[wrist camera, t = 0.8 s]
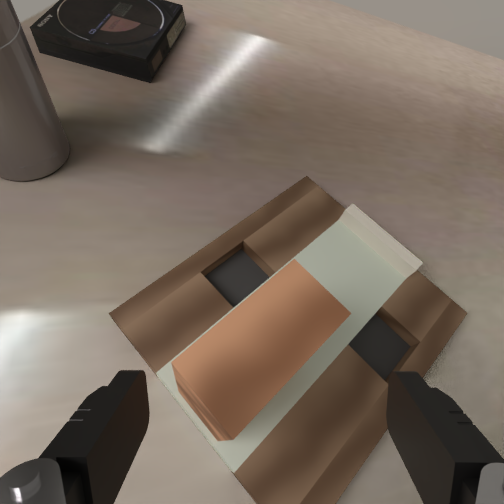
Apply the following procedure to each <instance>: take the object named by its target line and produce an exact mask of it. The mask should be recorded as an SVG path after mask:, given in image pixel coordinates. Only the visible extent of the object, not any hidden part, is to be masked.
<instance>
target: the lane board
mask: <svg viewBox="0 0 504 504" xmlns="http://www.w3.org/2000/svg"><path fill="white" fill-rule="evenodd" d="M293 259H295V260H296V261H297V262H298V263H299V264H300V265H301V266H302V267H304V268H305V269H306V270H307V271H308V272H309V273H310V274H311V275H312V276H313V277H314V278H315V279H316V280H317V281H318V282H319V283H320V284H321V285H322V286H323V287H324V288H325V289H327V290H328V291H329V292H330V293H331V294H332V295H333V296H334V297H335V298H336V299H337V300H338V301H339V302H340V303H341V304H342V305H343V306H344V307H345V308H346V309H347V310H348V311H350V312H351V315H350V316H349V317H348V318H347V319H346V320H345V321H344V322H343V323H342V324H341V325H340V326H339V327H338V328H337V330H336V331H335V332H334V333H333V334H332V335H331V336H330V337H329V338H328V339H327V340H326V341H325V342H324V343H323V345H322V346H321V347H320V348H319V349H318V350H317V351H316V352H315V353H314V354H313V355H312V356H311V357H310V358H309V360H308V361H307V362H306V363H305V364H304V365H303V366H302V367H301V368H300V369H299V370H298V371H297V372H296V373H295V375H294V376H293V377H292V378H291V379H290V380H289V381H288V382H287V383H286V384H285V385H284V386H283V387H282V388H281V390H280V391H279V392H278V393H277V394H276V395H275V396H274V397H273V398H272V399H271V400H270V401H269V402H268V403H267V405H266V406H265V407H264V408H263V409H262V410H261V411H260V412H259V413H258V414H257V415H256V416H255V417H254V418H253V419H252V421H251V422H250V423H249V424H248V425H247V426H246V427H245V428H244V429H243V430H242V431H241V432H240V433H239V434H238V436H237V437H236V438H235V439H234V440H226V441H217V440H216V439H215V437H214V436H213V435H212V433H211V432H210V431H209V430H208V428H207V427H206V426H205V425H204V423H203V422H202V421H201V420H200V418H199V417H198V416H197V414H196V413H195V412H194V411H193V409H192V408H191V407H190V406H189V404H188V403H187V402H186V401H185V399H184V398H183V397H182V396H181V394H180V393H179V391H178V387H177V383H176V380H175V376H174V372H173V368H172V364H171V362H172V361H173V360H174V359H176V358H177V357H178V356H179V355H180V354H182V353H183V352H184V351H185V350H186V349H187V348H189V347H190V346H191V345H192V344H193V343H195V342H196V341H197V340H198V339H199V338H201V337H202V336H203V335H204V334H205V333H207V332H208V331H209V330H210V329H211V328H212V327H214V326H215V325H216V324H217V323H218V322H220V321H221V320H222V319H223V318H224V317H226V316H227V315H228V314H229V313H230V312H231V311H233V310H234V309H235V308H236V307H237V306H239V305H240V304H241V303H242V302H243V301H245V300H246V299H247V298H248V297H249V296H250V295H252V294H253V293H254V292H255V291H256V290H258V289H259V288H260V287H261V286H262V285H264V284H265V283H266V282H267V281H268V280H270V279H271V278H272V277H273V276H274V275H275V274H277V273H278V272H279V271H280V270H281V269H283V268H284V267H285V266H286V265H287V264H289V263H290V262H291V261H292V260H293ZM422 264H423V262H422V261H421V260H419V259H418V258H417V257H416V256H415V255H414V254H412V253H411V252H410V251H409V250H408V249H406V248H405V247H404V246H403V245H402V244H400V243H399V242H398V241H397V240H396V239H395V238H393V237H392V236H391V235H390V234H389V233H387V232H386V231H385V230H384V229H383V228H381V227H380V226H379V225H378V224H377V223H376V222H374V221H373V220H372V219H371V218H370V217H368V216H367V215H366V214H365V213H364V212H362V211H361V210H360V209H359V208H358V207H356V206H355V205H354V204H352V205H350V206H349V207H348V208H347V209H345V208H344V207H343V206H341V205H340V204H339V203H338V202H337V201H336V200H334V199H333V198H332V197H331V196H330V195H329V194H327V193H326V192H325V191H324V190H323V189H322V188H320V187H319V186H318V185H317V184H316V183H315V182H313V181H312V180H311V179H310V178H309V177H307V176H306V177H304V178H303V179H302V180H300V181H299V182H297V183H296V184H294V185H293V186H292V187H290V188H289V189H287V190H286V191H284V192H283V193H281V194H280V195H279V196H277V197H276V198H274V199H273V200H271V201H270V202H269V203H267V204H266V205H264V206H263V207H261V208H260V209H258V210H257V211H256V212H254V213H253V214H251V215H250V216H248V217H247V218H245V219H244V220H243V221H241V222H240V223H238V224H237V225H235V226H234V227H233V228H231V229H230V230H228V231H227V232H225V233H224V234H222V235H221V236H220V237H218V238H217V239H215V240H214V241H212V242H211V243H210V244H208V245H207V246H205V247H204V248H202V249H201V250H199V251H198V252H197V253H195V254H194V255H192V256H191V257H189V258H188V259H186V260H185V261H184V262H182V263H181V264H179V265H178V266H176V267H175V268H174V269H172V270H171V271H169V272H168V273H166V274H165V275H163V276H162V277H161V278H159V279H158V280H156V281H155V282H153V283H152V284H150V285H149V286H148V287H146V288H145V289H143V290H142V291H140V292H139V293H138V294H136V295H135V296H133V297H132V298H130V299H129V300H127V301H126V302H125V303H123V304H122V305H120V306H119V307H117V308H116V309H115V310H113V311H112V312H110V313H109V314H110V316H111V317H112V319H113V320H114V322H115V323H116V324H117V326H118V327H119V328H120V329H121V331H122V332H123V333H124V335H125V336H126V337H127V338H128V340H129V341H130V342H131V344H132V345H133V346H134V347H135V349H136V350H137V351H138V352H139V354H140V355H141V356H142V358H143V359H144V360H145V361H146V363H147V364H148V365H149V367H150V368H151V369H152V370H153V372H154V373H155V374H156V376H157V377H158V378H159V379H160V381H161V382H162V383H163V384H164V386H165V387H166V388H167V390H168V391H169V392H170V393H171V395H172V396H173V397H174V399H175V400H176V401H177V402H178V404H179V405H180V406H181V408H182V409H183V410H184V411H185V413H186V414H187V415H188V416H189V418H190V419H191V420H192V422H193V423H194V424H195V425H196V427H197V428H198V429H199V431H200V432H201V433H202V434H203V436H204V437H205V438H206V440H207V441H208V442H209V443H210V445H211V446H212V447H213V448H214V450H215V451H216V452H217V454H218V455H219V456H220V457H221V459H222V460H223V461H224V463H225V464H226V465H227V466H228V468H229V469H230V470H231V472H232V473H233V474H234V475H235V477H236V478H237V479H238V480H239V482H240V483H241V484H242V486H243V487H244V488H245V489H246V491H247V492H248V493H249V495H250V496H251V497H252V498H253V500H254V501H255V502H256V504H336V502H337V501H338V499H339V498H340V496H341V495H342V493H343V492H344V491H345V489H346V488H347V486H348V485H349V483H350V482H351V480H352V479H353V478H354V476H355V475H356V473H357V472H358V470H359V469H360V467H361V466H362V465H363V463H364V462H365V460H366V459H367V457H368V456H369V454H370V453H371V452H372V450H373V449H374V447H375V446H376V444H377V443H378V442H379V440H380V439H381V437H382V436H383V434H384V433H385V431H386V430H387V429H388V426H387V420H386V409H387V396H388V384H389V375H390V373H391V372H392V371H416V372H418V373H419V374H420V376H421V377H422V378H423V377H424V375H425V374H426V372H427V371H428V369H429V368H430V366H431V365H432V364H433V362H434V361H435V359H436V358H437V356H438V355H439V353H440V352H441V351H442V349H443V348H444V346H445V345H446V343H447V342H448V340H449V339H450V338H451V336H452V335H453V333H454V332H455V330H456V329H457V328H458V326H459V325H460V323H461V322H462V320H463V319H464V317H465V316H466V315H467V312H466V311H464V310H463V309H462V308H461V307H460V306H459V305H457V304H456V303H455V302H454V301H453V300H452V299H450V298H449V297H448V296H447V295H446V294H445V293H443V292H442V291H441V290H440V289H439V288H438V287H436V286H435V285H434V284H433V283H432V282H430V281H429V280H428V279H427V278H426V277H425V276H423V275H422V274H421V273H420V272H419V271H418V270H417V269H418V268H419V267H420V266H421V265H422Z"/></svg>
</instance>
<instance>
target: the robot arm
mask: <svg viewBox="0 0 504 504" xmlns="http://www.w3.org/2000/svg"><path fill="white" fill-rule="evenodd" d="M69 152H70V146H69V142H68V140H67V137H66V135H65V132H64V130H63V127H62V125H61V122H60V120H59V117H58V115H57V112H56V110H55V107H54V105H53V102H52V100H51V98H50V95H49V93H48V90H47V88H46V85H45V83H44V80H43V78H42V76H41V73H40V71H39V68H38V66H37V63H36V61H35V58H34V56H33V54H32V51H31V49H30V46H29V44H28V41H27V39H26V36H25V34H24V32H23V29H22V27H21V24H20V22H19V19H18V17H17V15H16V13H15V10H14V8H13V5H12V3H11V0H0V177H1V178H4V179H8V180H14V181H28V180H34V179H39V178H42V177H44V176H47V175H49V174H51V173H53V172H55V171H56V170H57V169H59V168H60V167H61V166H62V165H63V164H64V163H65V162H66V160H67V158H68V156H69ZM386 420H387V426H388V430H389V433H390V435H391V438H392V440H393V442H394V444H395V446H396V448H397V450H398V452H399V454H400V456H401V458H402V460H403V462H404V464H405V466H406V468H407V470H408V472H409V474H410V476H411V478H412V481H413V483H414V485H415V487H416V489H417V491H418V493H419V495H420V497H421V499H422V501H423V503H424V504H504V459H503V458H502V457H501V456H500V454H499V453H498V452H497V451H496V450H495V448H494V447H493V446H492V445H491V444H490V443H489V441H488V440H487V439H486V438H485V437H484V435H483V434H482V433H481V432H480V431H479V430H478V428H477V427H476V426H475V425H473V424H472V421H471V420H470V419H469V418H468V417H467V415H466V414H464V413H463V411H462V409H461V408H460V407H459V406H458V405H457V404H456V402H455V401H454V400H453V399H452V398H451V397H449V396H448V395H446V394H445V393H443V392H442V391H440V390H439V389H437V388H430V387H429V386H428V385H427V383H426V382H425V381H424V380H423V378H422V377H421V376H420V374H419V373H418V372H416V371H392V372H391V373H390V375H389V384H388V396H387V409H386ZM148 423H149V403H148V393H147V383H146V375H145V372H144V371H143V370H121V371H119V372H118V373H117V374H116V376H115V377H114V378H113V380H112V381H111V383H110V384H109V385H108V386H101V387H100V388H99V389H97V390H96V391H94V392H93V393H92V394H90V395H89V396H87V398H86V399H85V400H84V401H83V403H82V404H81V405H80V406H79V408H78V410H77V411H75V413H74V414H73V415H72V416H71V418H70V420H69V422H67V423H66V424H65V425H64V426H63V428H62V429H61V430H60V432H59V433H58V434H57V435H56V437H55V438H54V439H53V440H52V442H51V443H50V444H49V445H48V447H47V448H46V449H45V450H44V452H43V453H42V454H41V455H40V457H39V458H38V459H34V460H30V461H27V462H24V463H22V464H20V465H18V466H16V467H14V468H13V469H11V470H10V471H8V472H7V473H5V474H4V475H3V476H2V477H1V478H0V504H114V502H115V499H116V497H117V495H118V493H119V491H120V488H121V486H122V484H123V482H124V480H125V477H126V475H127V473H128V471H129V469H130V466H131V464H132V462H133V460H134V458H135V456H136V453H137V451H138V449H139V447H140V445H141V442H142V440H143V438H144V436H145V434H146V431H147V428H148Z"/></svg>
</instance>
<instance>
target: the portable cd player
mask: <svg viewBox="0 0 504 504" xmlns="http://www.w3.org/2000/svg"><path fill="white" fill-rule="evenodd" d="M185 25H186V21H185V17H184V12H183V7H182V5H179V4H176V3H172V2H169V1H165V0H59V1H58V2H57V3H56V4H55V5H54V6H53V7H52V8H51V9H49V10H48V11H47V12H46V13H45V14H44V15H43V16H42V17H41V18H39V19H38V20H37V21H36V22H35V23H34V24H33V25H32V26H31V27H30V29H31V31H32V34H33V36H34V39H35V42H36V44H37V47H38V49H39V52H40V53H43V54H47V55H50V56H54V57H57V58H61V59H65V60H68V61H72V62H76V63H79V64H83V65H87V66H90V67H94V68H98V69H101V70H105V71H109V72H112V73H116V74H119V75H123V76H127V77H130V78H134V79H138V80H141V81H145V82H149V83H150V82H151V80H152V79H153V77H154V75H155V74H156V72H157V71H158V69H159V67H160V66H161V64H162V63H163V61H164V59H165V58H166V56H167V55H168V53H169V51H170V50H171V48H172V47H173V45H174V43H175V42H176V40H177V39H178V37H179V35H180V34H181V32H182V30H183V29H184V27H185Z"/></svg>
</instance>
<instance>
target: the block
mask: <svg viewBox="0 0 504 504" xmlns="http://www.w3.org/2000/svg"><path fill="white" fill-rule="evenodd" d="M350 315H351V312H350V311H348V310H347V309H346V308H345V307H344V306H343V305H342V304H341V303H340V302H339V301H338V300H337V299H336V298H335V297H334V296H333V295H332V294H331V293H330V292H329V291H328V290H327V289H325V288H324V287H323V286H322V285H321V284H320V283H319V282H318V281H317V280H316V279H315V278H314V277H313V276H312V275H311V274H310V273H309V272H308V271H307V270H306V269H305V268H304V267H302V266H301V265H300V264H299V263H298V262H297V261H296V260H295V259H293V260H292V261H291V262H290V263H289V264H287V265H286V266H285V267H284V268H283V269H281V270H280V271H279V272H278V273H277V274H275V275H274V276H273V277H272V278H271V279H270V280H268V281H267V282H266V283H265V284H264V285H262V286H261V287H260V288H259V289H258V290H256V291H255V292H254V293H253V294H252V295H250V296H249V297H248V298H247V299H246V300H245V301H243V302H242V303H241V304H240V305H239V306H237V307H236V308H235V309H234V310H233V311H231V312H230V313H229V314H228V315H227V316H226V317H224V318H223V319H222V320H221V321H220V322H218V323H217V324H216V325H215V326H214V327H212V328H211V329H210V330H209V331H208V332H207V333H205V334H204V335H203V336H202V337H201V338H199V339H198V340H197V341H196V342H195V343H193V344H192V345H191V346H190V347H189V348H187V349H186V350H185V351H184V352H183V353H182V354H180V355H179V356H178V357H177V358H176V359H174V360H173V361H172V362H171V364H172V368H173V372H174V376H175V380H176V383H177V387H178V391H179V393H180V394H181V396H182V397H183V398H184V399H185V401H186V402H187V403H188V404H189V406H190V407H191V408H192V409H193V411H194V412H195V413H196V414H197V416H198V417H199V418H200V420H201V421H202V422H203V423H204V425H205V426H206V427H207V428H208V430H209V431H210V432H211V433H212V435H213V436H214V437H215V439H216V440H217V441H226V440H234V439H235V438H236V437H237V436H238V434H239V433H240V432H241V431H242V430H243V429H244V428H245V427H246V426H247V425H248V424H249V423H250V422H251V421H252V419H253V418H254V417H255V416H256V415H257V414H258V413H259V412H260V411H261V410H262V409H263V408H264V407H265V406H266V405H267V403H268V402H269V401H270V400H271V399H272V398H273V397H274V396H275V395H276V394H277V393H278V392H279V391H280V390H281V388H282V387H283V386H284V385H285V384H286V383H287V382H288V381H289V380H290V379H291V378H292V377H293V376H294V375H295V373H296V372H297V371H298V370H299V369H300V368H301V367H302V366H303V365H304V364H305V363H306V362H307V361H308V360H309V358H310V357H311V356H312V355H313V354H314V353H315V352H316V351H317V350H318V349H319V348H320V347H321V346H322V345H323V343H324V342H325V341H326V340H327V339H328V338H329V337H330V336H331V335H332V334H333V333H334V332H335V331H336V330H337V328H338V327H339V326H340V325H341V324H342V323H343V322H344V321H345V320H346V319H347V318H348V317H349V316H350Z"/></svg>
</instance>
